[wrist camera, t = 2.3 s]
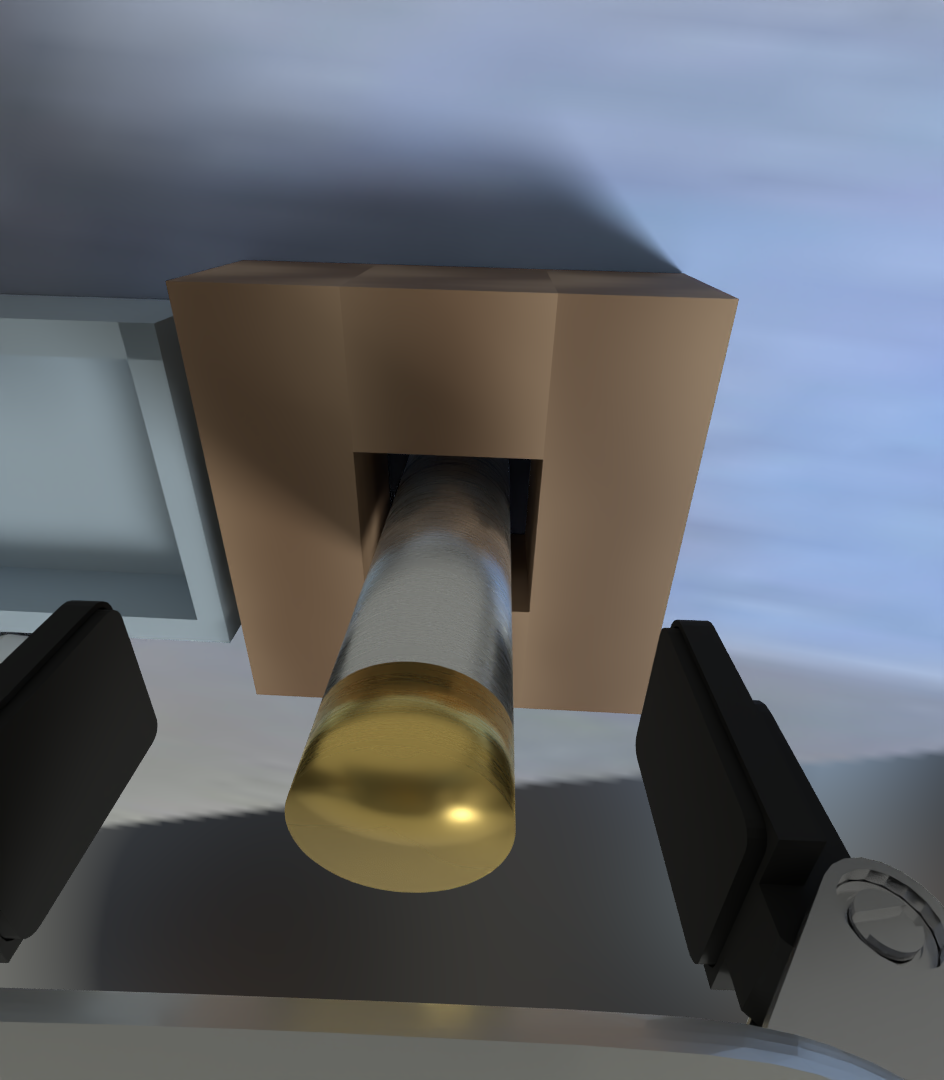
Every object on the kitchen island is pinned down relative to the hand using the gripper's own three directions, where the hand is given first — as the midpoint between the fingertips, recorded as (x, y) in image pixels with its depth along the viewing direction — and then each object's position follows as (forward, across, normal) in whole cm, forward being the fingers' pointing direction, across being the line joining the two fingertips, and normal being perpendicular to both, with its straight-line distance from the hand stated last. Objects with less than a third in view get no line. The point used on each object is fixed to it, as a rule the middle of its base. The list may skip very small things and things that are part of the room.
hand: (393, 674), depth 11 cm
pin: (+8, -1, 0) cm, 8 cm away
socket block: (+8, -1, 0) cm, 8 cm away
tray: (+9, +11, 0) cm, 14 cm away
